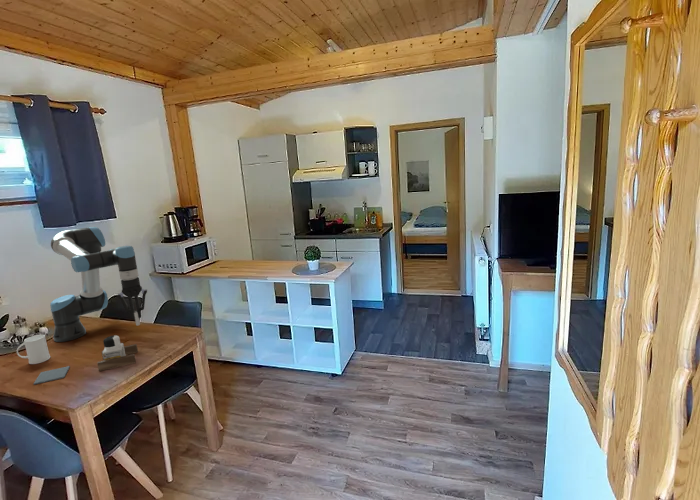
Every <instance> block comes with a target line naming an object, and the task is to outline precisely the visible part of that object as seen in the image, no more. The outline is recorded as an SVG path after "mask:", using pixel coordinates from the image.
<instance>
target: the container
mask: <svg viewBox="0 0 700 500" xmlns="http://www.w3.org/2000/svg"><path fill="white" fill-rule="evenodd" d="M102 342H103V346H104V349H103V350H102V351H103V353H102V352H101V355H102V354H103V357H102V360H103V359H104V360H109V359H114V358H118V357H123V356H127V355H126V354H125V349H124V346H125V344H124V342H121V339H120V336H119V335H110V336H107V337H106V338H103V341H102ZM104 360H103V361H104Z"/></svg>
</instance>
